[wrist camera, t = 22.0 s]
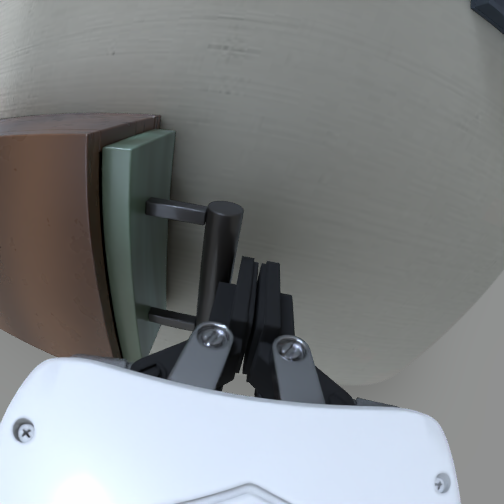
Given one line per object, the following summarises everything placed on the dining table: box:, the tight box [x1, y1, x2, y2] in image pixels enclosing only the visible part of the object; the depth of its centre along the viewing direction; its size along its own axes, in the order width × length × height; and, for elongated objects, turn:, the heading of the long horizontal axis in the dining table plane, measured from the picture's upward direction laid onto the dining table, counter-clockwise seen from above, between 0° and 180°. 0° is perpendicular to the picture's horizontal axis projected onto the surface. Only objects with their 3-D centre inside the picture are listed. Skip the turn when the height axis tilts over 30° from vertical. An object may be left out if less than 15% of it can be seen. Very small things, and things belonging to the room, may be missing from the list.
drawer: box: [99, 129, 244, 363], centre depth 13 cm, size 16×11×5 cm
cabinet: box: [0, 113, 161, 359], centre depth 13 cm, size 14×13×7 cm
